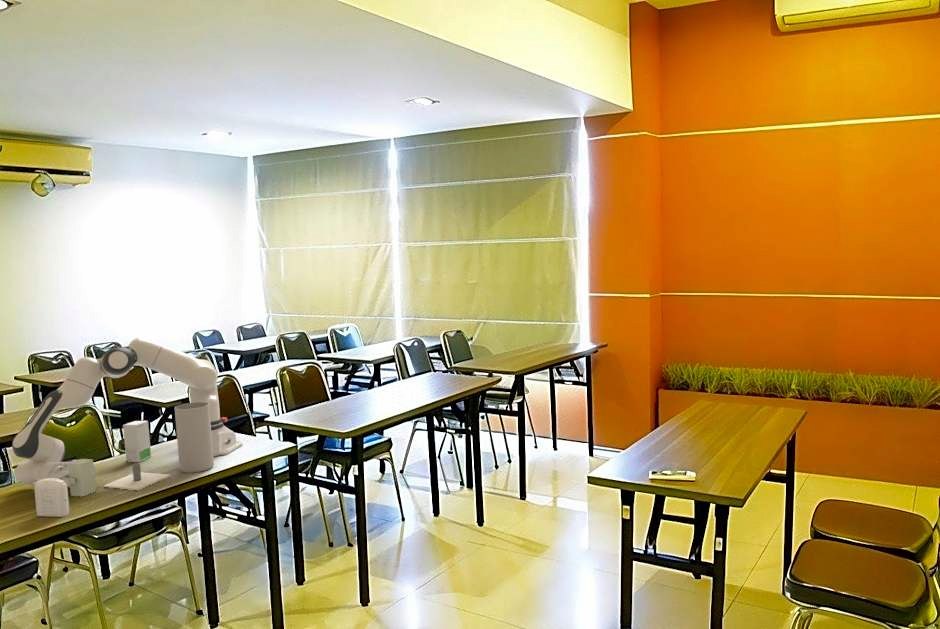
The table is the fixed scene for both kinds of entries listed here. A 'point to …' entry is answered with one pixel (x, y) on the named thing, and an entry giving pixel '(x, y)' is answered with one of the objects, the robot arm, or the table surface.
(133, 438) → the skincare box
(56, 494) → the photo printer
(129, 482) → the dock
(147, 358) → the robot arm
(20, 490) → the table surface
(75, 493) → the light grey tall block
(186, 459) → the cylinder vase
